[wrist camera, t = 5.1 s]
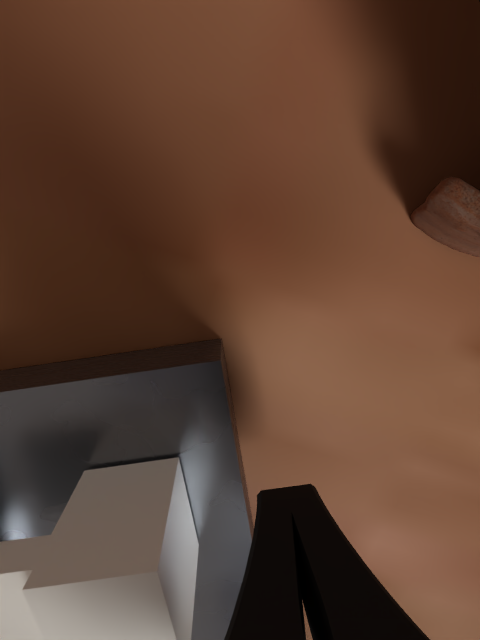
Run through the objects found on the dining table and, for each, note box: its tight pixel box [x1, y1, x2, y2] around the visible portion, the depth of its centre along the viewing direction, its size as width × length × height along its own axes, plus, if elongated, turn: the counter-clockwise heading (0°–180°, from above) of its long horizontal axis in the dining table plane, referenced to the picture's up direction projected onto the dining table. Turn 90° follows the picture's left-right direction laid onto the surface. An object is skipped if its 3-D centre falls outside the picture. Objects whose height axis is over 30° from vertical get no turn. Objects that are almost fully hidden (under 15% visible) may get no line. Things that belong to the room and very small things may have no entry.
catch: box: [0, 457, 199, 640], centre depth 9 cm, size 3×6×3 cm, turn 98°
